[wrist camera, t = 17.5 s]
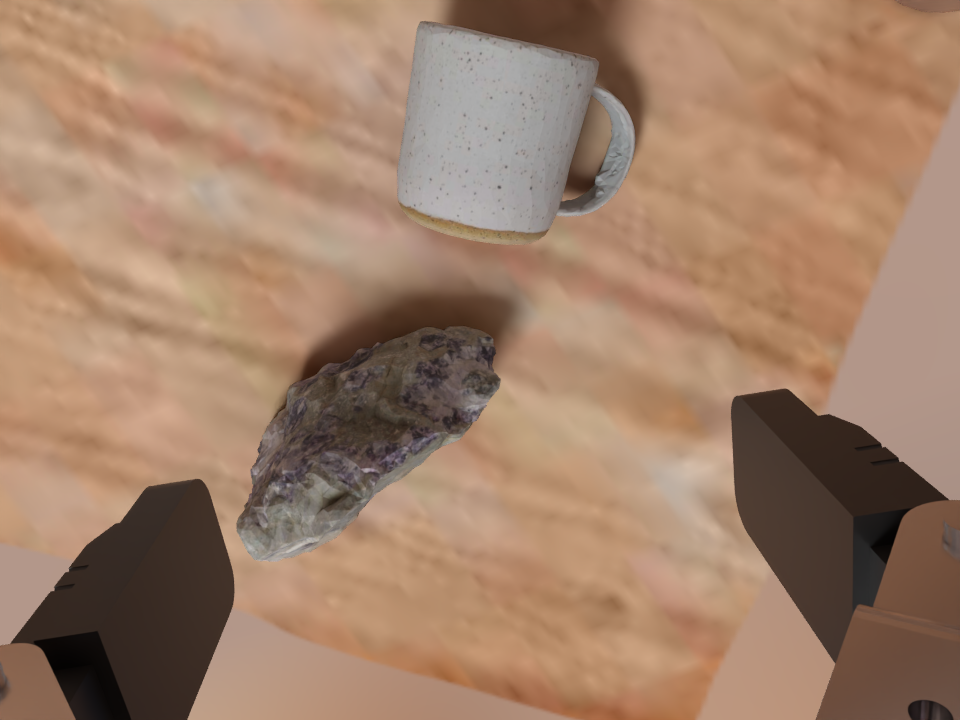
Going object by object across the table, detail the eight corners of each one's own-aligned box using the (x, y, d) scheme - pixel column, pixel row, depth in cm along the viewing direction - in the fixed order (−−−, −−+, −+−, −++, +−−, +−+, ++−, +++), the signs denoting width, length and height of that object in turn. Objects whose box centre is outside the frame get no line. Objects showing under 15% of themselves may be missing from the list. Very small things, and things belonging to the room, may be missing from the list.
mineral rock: (492, 311, 40) (506, 382, 31) (505, 497, 44) (522, 611, 34) (239, 332, 40) (175, 410, 31) (273, 517, 44) (226, 637, 34)
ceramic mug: (394, 203, 38) (386, 232, 31) (420, 22, 36) (417, 8, 28) (605, 239, 40) (644, 275, 32) (645, 67, 37) (697, 65, 30)
